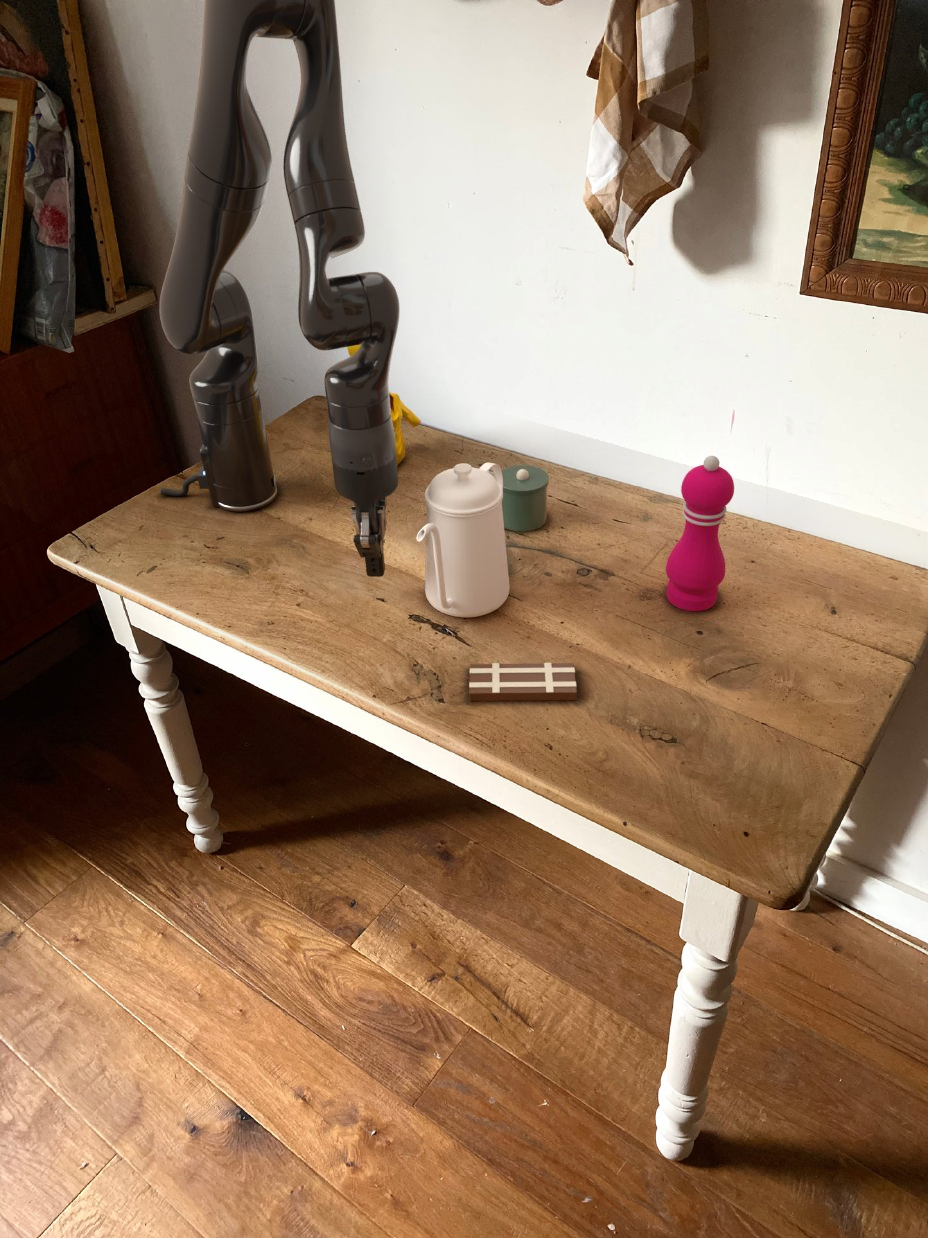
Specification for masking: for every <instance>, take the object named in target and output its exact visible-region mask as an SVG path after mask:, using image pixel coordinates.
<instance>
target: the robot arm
mask: <svg viewBox="0 0 928 1238" xmlns="http://www.w3.org/2000/svg"><path fill="white" fill-rule="evenodd" d="M203 2H204V4H203V5H204V6H203V20H202V21H203V23H202V40H201V41H202V42H201V56H200V57H201V58H200V67H199V68H200V70H199V78H198V87H197V94H196V101H195V109H194V117H193V122H192V129H191V133H190V139H189V143H188V150H187V156H186V164H185V169H184V177H183V187H182V188H183V189H182V197H181V203H180V209H179V216H178V220H177V225H176V231H175V232H176V233H175V238H174V243H173V246H172V251H171V254H170V258H169V262H168V265H167V269H166V272H165V276H164V280H163V283H162V287H161V290H160V296H159V312H158V313H159V320H160V323H161V328H162V331H163V334H164V336H165V338H166V339H167V341H168V342H169V343H170V345H171V346H172V347H173V348H174V349H175V350H177V351H178V352H181V353H183V354H187V355H197V354H202V353H205V355H204V356H203V358H202V359H201V361H200V362H199V363H198V364H197V365H196V366H195V367H194V369H193V370H192V371H191V373H190V375H189V379H188V382H189V383H188V384H189V389H190V393H191V398H192V403H193V406H194V410H195V415H196V419H197V423H198V427H199V431H200V436H201V441H202V445H201V447H200V448H199V455H200V459H201V463H202V465H201V467H200V469H199V471H198V473H196V474H193V475H190V476H189V477H188V478H187V477H186V479H185V480H184V481H183V482H182V487H181V489H171V488H166V487H165V488H164V487H162V488H161V489H160V494H161V495H162V496H163V495H164V496H170V497H183V496H186V495H187V494H188V493H189V491H190V485H191V484H193V483H195V482H197V483H198V486H199V490H208V492H209V498H210V501H211V506H212V507H213V508H214V507H216V508H221V509H223V510H226V511H230V512H237V513H238V512H239V513H240V512H241V513H242V512H250V511H254V510H258V509H262V508H264V507H266V506H267V505H269V504H271V503H272V502H273V501H274V500H275V499H276V497H277V495H278V487H277V484H276V481H277V480H276V479H277V476H276V472H275V471H274V467H273V462H272V458H271V457H272V456H271V452H270V446H269V441H268V434H267V429H266V425H265V419H264V413H263V407H262V402H261V396H260V392H259V384H258V378H257V377H258V373H259V356H258V347H257V340H256V339H257V338H256V332H255V322H254V315H253V310H252V306H251V303H250V299H249V296H248V293H247V291H246V290H245V288H244V285H243V284H242V283H241V281H240V280H239V279H238V277H236V275H235V274H233V273H232V272H230V271H229V270H226V269H225V267H226V266H227V265H228V263H229V261H230V260H231V259H232V258H233V256H234V255H235V253H237V250H238V249H239V248H240V247H241V245H242V244H243V243H244V241H245V240H246V239H247V238H248V235H249V234H250V233H251V231H252V230H253V228H254V227H255V224H257V221H258V219H259V218H260V216H261V213H262V210H263V207H264V203H265V200H266V197H267V191H268V187H269V182H270V178H271V173H272V167H273V151H272V146H271V143H270V140H269V136H268V134H267V130H266V129H265V126H264V124H263V123H264V122H263V121H262V119H261V117H260V115H259V111H258V109H257V108H256V105H255V102H254V100H253V97H252V95H251V91H250V88H249V84H248V60H249V53H250V47H251V44H252V42H253V40H254V38H264V39H276V40H277V39H279V40H292V42H293V45H294V47H295V50H296V54H297V58H298V63H299V70H300V88H299V94H298V99H297V103H296V107H295V111H294V114H293V118H292V121H291V123H290V127H289V131H288V134H287V138H286V142H285V145H284V147H285V148H284V153H283V165H282V166H283V167H282V168H283V179H284V185H285V190H286V195H287V200H288V203H289V208H290V212H291V216H292V220H293V225H294V230H295V234H296V238H297V246H298V259H299V260H298V261H299V285H298V286H299V287H298V308H297V313H298V316H297V317H298V323H299V324H298V325H299V328H300V330H301V333H302V335H303V337H304V338H305V339H306V341H307V342H308V343H309V344H310V345H311V346H312V347H313V348H314V349H317V350H319V351H333V350H339V349H344V348H347V347H349V346H355V345H361V346H360V348H359V350H358V351H357V352H356V353H355V354H354V355H352V356H351V357H350V356H349V357H347V358H344V359H343V360H341V361H338V362H336V363H335V364H333V365H332V366H329V368H328V369H327V370H326V372H325V374H324V393H325V400H326V408H327V416H328V439H329V449H330V456H331V464H332V472H333V480H334V487H335V491H336V492H337V493H338V494H339V496H341V497H342V498H344V499H346V500H349V501H351V502H353V505H352V506H350V507H351V508H350V515H351V521H352V522H353V523H354V529H355V535H354V536H353V540H352V542H353V543H354V547H355V549H356V551H357V553H358V555H359V557H360V558H363V559H364V563H365V571H366V576H368V577H369V578H381V577H383V576H384V575H385V570H386V565H385V553H384V549H385V548H384V546H385V543H386V539H385V535H386V531H387V524H388V523H387V510H386V509H387V506H388V500H387V499H388V498H387V497H389V496H390V495H392V494H393V493H394V492H395V491H396V490H397V488H398V486H399V471H398V465H397V458H396V446H395V434H394V427H393V423H392V419H391V411H390V398H389V392H390V388H389V386H390V385H389V384H390V383H389V381H390V379H389V378H390V371H391V363H392V356H393V353H394V352H393V351H394V347H395V343H396V338H397V334H398V330H399V325H400V324H399V323H400V312H401V309H400V300H399V295H398V292H397V290H396V287H395V285H394V284H393V283H392V281H391V280H390V278H388V276H386V275H385V274H383V273H382V272H379V271H366V272H359V273H351V274H346V275H340V276H335V277H328V276H327V266H328V263H329V262H330V261H331V260H333V259H335V258H337V257H340V256H342V255H344V254H348V253H349V252H352V251H354V250H356V249H358V248H359V247H361V246H362V244H364V242H365V238H366V229H365V223H364V218H363V214H362V209H361V204H360V199H359V194H358V190H357V186H356V181H355V177H354V173H353V168H352V163H351V158H350V157H351V156H350V151H349V147H348V145H349V144H348V139H347V132H346V123H345V115H344V114H345V112H344V99H343V84H342V82H343V81H342V69H341V56H340V44H339V33H338V23H337V12H336V11H337V10H336V0H204V1H203Z"/></svg>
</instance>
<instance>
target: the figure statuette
mask: <svg viewBox="0 0 928 1238" xmlns="http://www.w3.org/2000/svg"><path fill="white" fill-rule="evenodd" d="M360 346H361V345H355V346H349V347H346V349H347V353H348V356H349V357H351V356H352V355H354V354H355V353H356V352H357V351H358V350H359V348H360ZM389 398H390V411H391V419H392V423H393V427H394V434H395V446H396V458H397V466H399V464H400V463H401V462H402V461H403V460H404V458H405V457H406V446H405V440H404V434H403V431H402V421H403V420H404V421H406V423H408V424H409V425H410V426H411V427H412V428H415V427H417V426H419V425H420V424H421V423H422V420H421V419H420V418H419V417H418V416H417V415H415V413H414V412H413V411H412V410H411V409H409V407H407V406H406V405H405V404H404V403H403V401H402V399H401V397H400V395H399V394H398V393H395V392H390V391H389Z"/></svg>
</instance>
